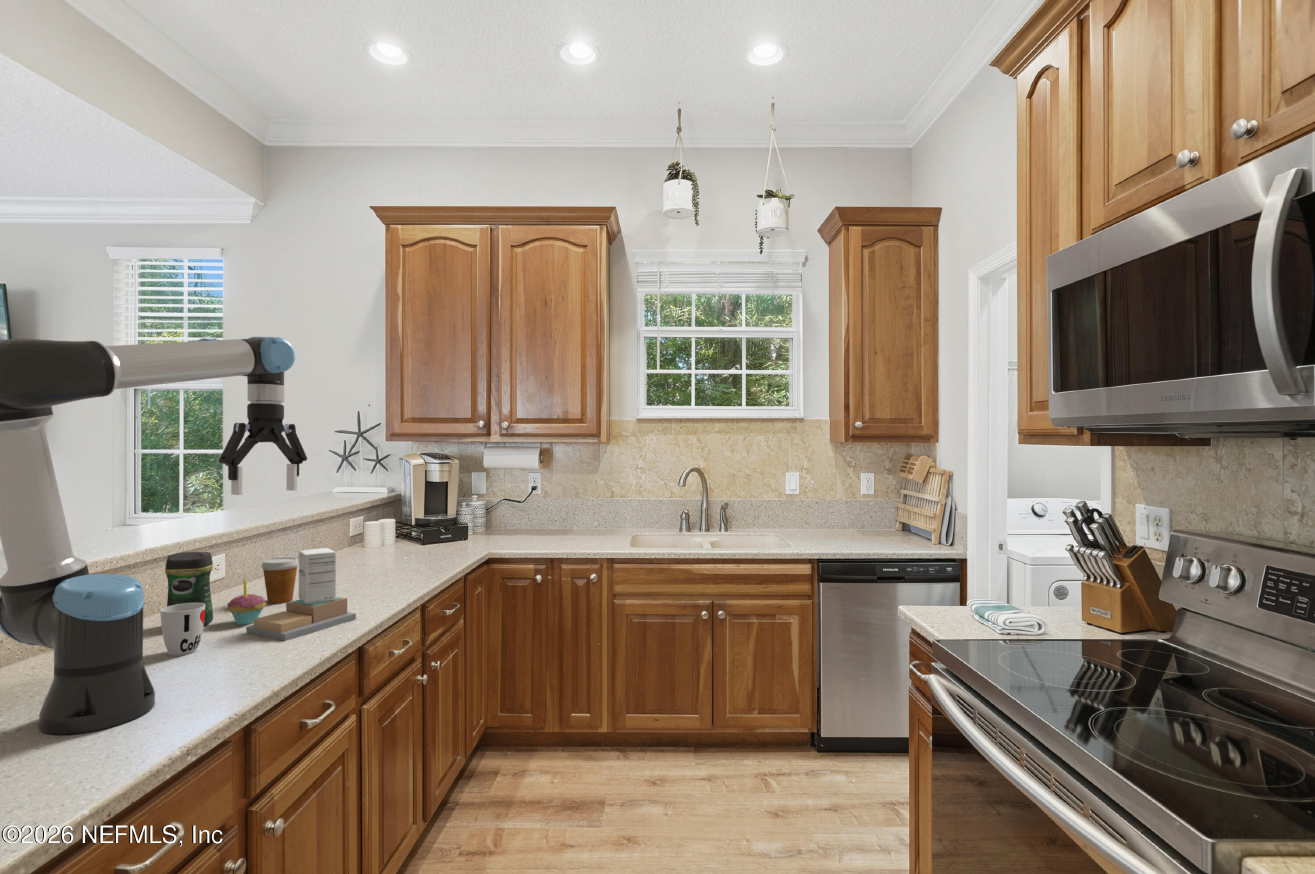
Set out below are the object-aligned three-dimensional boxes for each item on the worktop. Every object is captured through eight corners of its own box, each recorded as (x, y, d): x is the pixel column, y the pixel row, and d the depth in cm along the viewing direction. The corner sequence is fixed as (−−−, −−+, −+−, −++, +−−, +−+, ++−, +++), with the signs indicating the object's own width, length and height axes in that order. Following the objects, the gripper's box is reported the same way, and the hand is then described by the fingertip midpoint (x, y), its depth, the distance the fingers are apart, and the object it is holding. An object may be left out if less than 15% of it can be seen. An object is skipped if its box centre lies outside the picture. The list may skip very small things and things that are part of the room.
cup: (181, 659, 140) (181, 613, 140) (150, 656, 142) (150, 610, 142) (214, 647, 148) (214, 603, 148) (184, 645, 149) (184, 601, 149)
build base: (285, 640, 153) (285, 616, 153) (246, 632, 159) (246, 609, 159) (355, 619, 171) (356, 597, 171) (318, 612, 177) (318, 591, 177)
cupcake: (262, 625, 166) (262, 577, 165) (222, 628, 162) (223, 580, 162) (268, 616, 173) (268, 571, 173) (231, 619, 170) (231, 573, 170)
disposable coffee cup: (266, 598, 192) (266, 557, 192) (302, 596, 195) (302, 556, 195) (256, 606, 183) (257, 563, 183) (294, 604, 186) (294, 562, 186)
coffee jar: (217, 620, 170) (218, 548, 170) (204, 628, 162) (204, 554, 162) (174, 622, 167) (175, 550, 167) (159, 631, 160) (159, 555, 160)
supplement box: (297, 598, 169) (298, 550, 169) (328, 594, 174) (329, 547, 174) (304, 604, 164) (304, 554, 164) (336, 599, 168) (336, 551, 168)
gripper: (302, 405, 167) (301, 488, 168) (200, 400, 145) (200, 495, 145) (323, 405, 164) (322, 489, 164) (222, 400, 142) (221, 497, 142)
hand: (265, 492), depth 155 cm, fingers open, 13 cm apart
